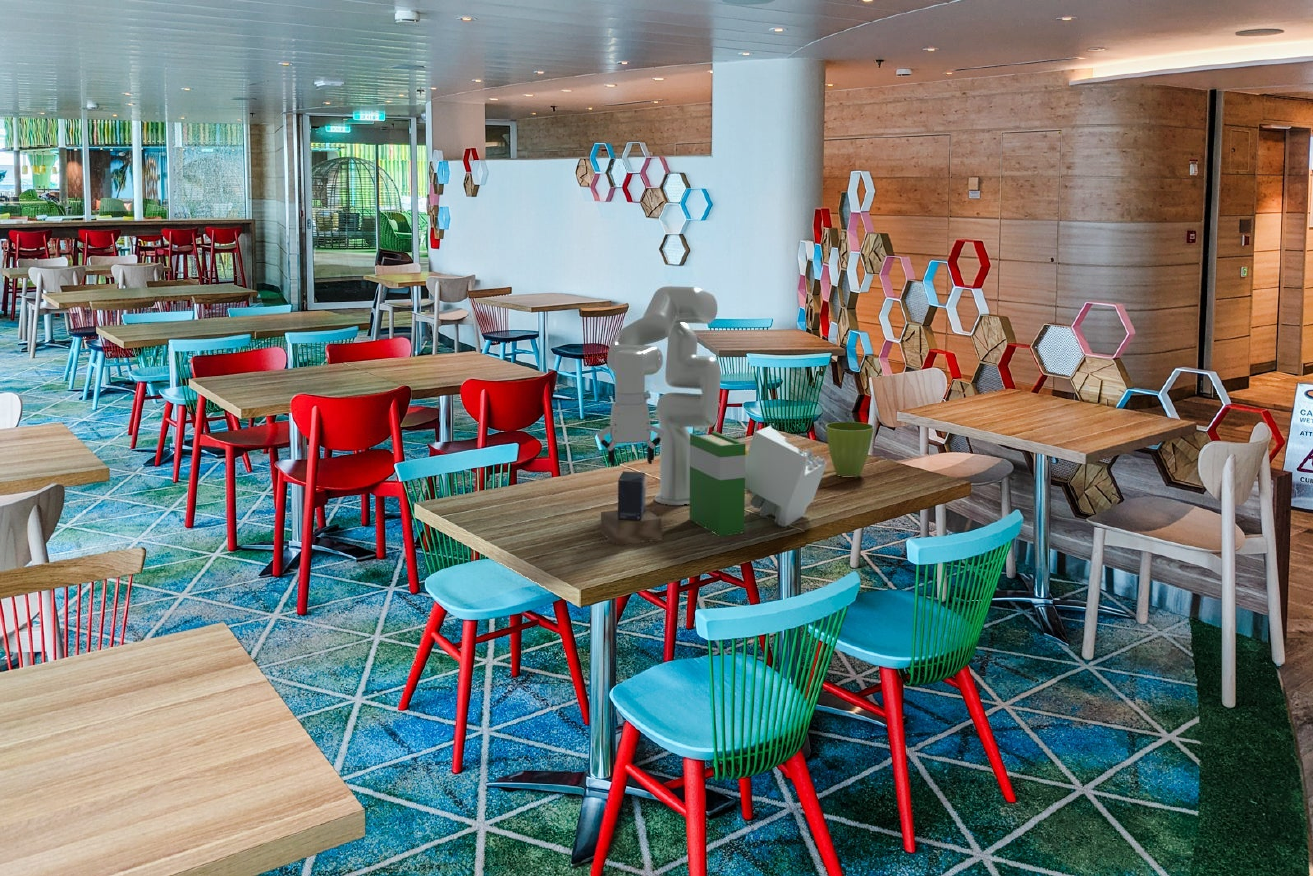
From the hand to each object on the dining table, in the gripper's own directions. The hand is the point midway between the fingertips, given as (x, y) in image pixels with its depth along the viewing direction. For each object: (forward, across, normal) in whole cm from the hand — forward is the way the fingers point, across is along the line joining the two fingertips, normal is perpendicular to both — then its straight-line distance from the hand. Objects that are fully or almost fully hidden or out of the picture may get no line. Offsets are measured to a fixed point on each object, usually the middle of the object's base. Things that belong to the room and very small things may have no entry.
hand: (631, 463), depth 298 cm
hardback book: (+20, -24, -5) cm, 31 cm away
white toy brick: (+20, -42, -8) cm, 48 cm away
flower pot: (+22, -76, -55) cm, 97 cm away
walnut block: (+20, 0, +1) cm, 20 cm away
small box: (+14, 0, +1) cm, 14 cm away
